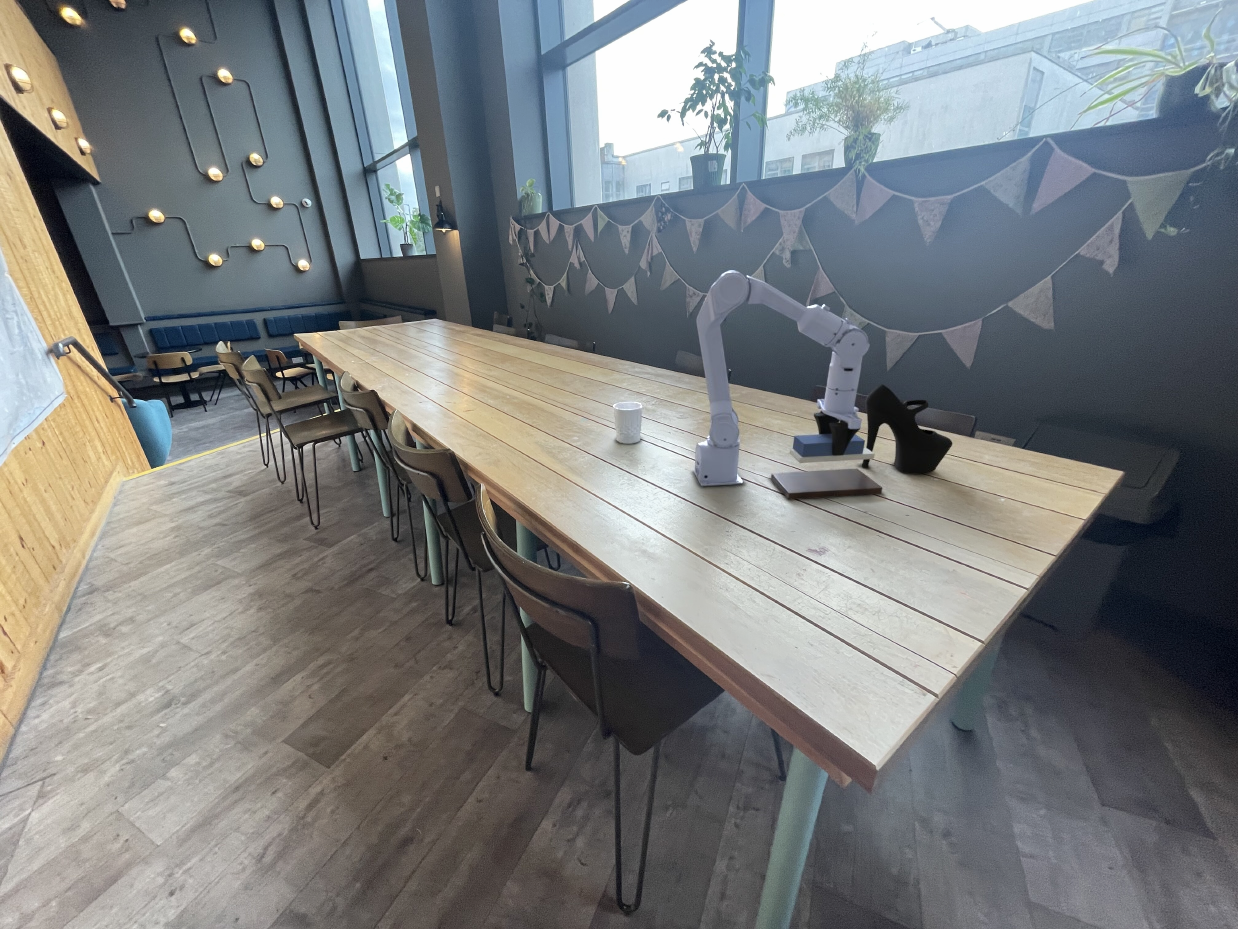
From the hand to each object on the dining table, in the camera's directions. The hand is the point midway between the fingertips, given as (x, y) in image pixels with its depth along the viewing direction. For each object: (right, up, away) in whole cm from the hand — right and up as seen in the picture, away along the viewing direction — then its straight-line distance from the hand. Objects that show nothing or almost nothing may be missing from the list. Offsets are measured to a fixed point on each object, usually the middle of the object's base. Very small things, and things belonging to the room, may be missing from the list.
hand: (831, 450), depth 100 cm
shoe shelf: (-1, -8, +2) cm, 8 cm away
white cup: (-43, +4, +33) cm, 54 cm away
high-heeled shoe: (+20, -4, +10) cm, 23 cm away
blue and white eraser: (0, -1, +1) cm, 1 cm away
